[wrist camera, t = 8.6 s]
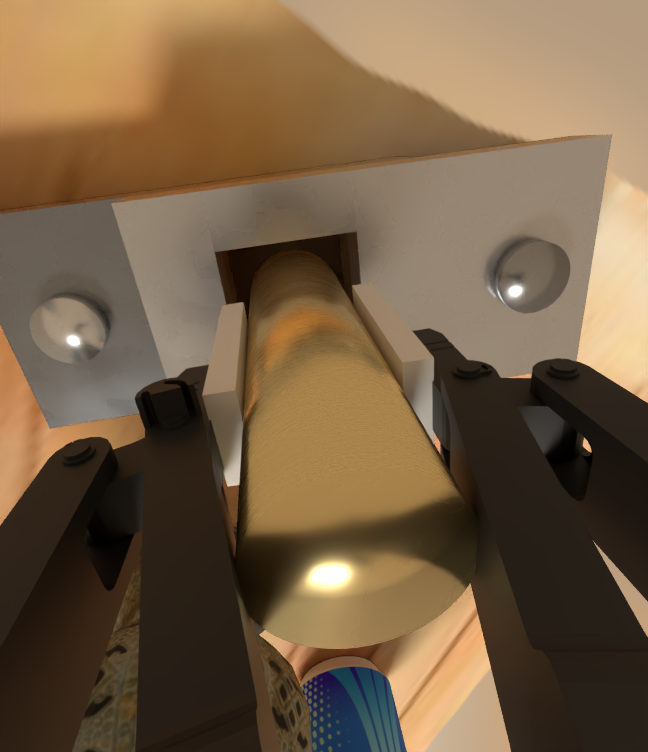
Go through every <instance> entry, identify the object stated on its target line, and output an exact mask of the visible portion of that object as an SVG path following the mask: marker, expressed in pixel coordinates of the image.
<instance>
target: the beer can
mask: <svg viewBox="0 0 648 752" xmlns="http://www.w3.org/2000/svg"><path fill="white" fill-rule="evenodd" d="M300 687H301V689H302V692H303V694H304V696H305V699H306V701H307V704H308V706H309V709H310V723H311V740H312V752H407V751H406V747H405V743H404V739H403V735H402V731H401V727H400V723H399V718H398V714H397V710H396V706H395V702H394V698H393V694H392V690H391V686H390V683H389V680H388V679H387V677H386V676H385V675H384V674H383V673H382V672H380V671H379V670H378V669H377V667H376V666H375V665H374V664H373V663H372V662H371V661H369V660H367V659H364V658H361V657H356V656H342V657H335V658H331V659H328V660H325V661H323V662H321V663H319V664H317V665H315V666H314V667H312V668H311V669H310V670H309V671H308V672H307V673H306V674H305V676H304V677H303V679H302V681H301V686H300Z"/></svg>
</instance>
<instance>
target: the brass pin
mask: <svg viewBox="0 0 648 752" xmlns="http://www.w3.org/2000/svg"><path fill="white" fill-rule="evenodd" d="M477 537H478V520H477V518H476V515H475V513H474V512H473V510H472V508H471V507H470V505H469V503H468V501H467V500H466V498H465V496H464V495H463V493H462V491H461V489H460V488H459V486H458V484H457V483H456V481H455V479H454V477H453V476H452V474H451V472H450V471H449V469H448V467H447V465H446V464H445V462H444V460H443V459H442V457H441V455H440V453H439V452H438V450H437V448H436V447H435V445H434V443H433V441H432V440H431V438H430V436H429V435H428V433H427V431H426V429H425V428H424V426H423V424H422V423H421V421H420V419H419V417H418V416H417V414H416V412H415V411H414V409H413V407H412V405H411V404H410V402H409V400H408V399H407V397H406V395H405V393H404V392H403V390H402V388H401V387H400V385H399V383H398V381H397V380H396V378H395V376H394V375H393V373H392V371H391V369H390V368H389V366H388V364H387V363H386V361H385V359H384V357H383V356H382V354H381V352H380V351H379V349H378V347H377V345H376V344H375V342H374V340H373V339H372V337H371V335H370V333H369V332H368V330H367V328H366V327H365V325H364V323H363V321H362V320H361V318H360V316H359V315H358V313H357V311H356V309H355V308H354V306H353V304H352V303H351V301H350V299H349V297H348V296H347V294H346V292H345V291H344V289H343V287H342V285H341V284H340V282H339V280H338V279H337V277H336V275H335V273H334V272H333V270H332V269H331V267H330V266H329V265H328V264H327V263H326V262H325V261H324V260H323V259H322V258H320V257H319V256H317V255H315V254H313V253H311V252H308V251H303V250H287V251H282V252H280V253H277V254H275V255H273V256H271V257H270V258H268V259H267V260H266V261H265V262H264V263H262V265H261V266H260V267H259V268H258V270H257V271H256V273H255V275H254V277H253V280H252V283H251V289H250V306H249V324H248V341H247V359H246V377H245V394H244V412H243V429H242V447H241V465H240V482H239V500H238V518H237V535H236V553H235V570H236V573H237V576H238V580H239V583H240V586H241V590H242V593H243V596H244V599H245V603H246V606H247V609H248V613H249V616H250V617H251V618H252V619H253V620H254V621H255V622H256V623H257V624H258V625H259V626H261V627H262V628H263V629H265V630H266V631H268V632H270V633H271V634H273V635H275V636H277V637H279V638H281V639H284V640H286V641H289V642H292V643H295V644H299V645H303V646H308V647H314V648H324V649H347V648H358V647H364V646H370V645H374V644H378V643H383V642H386V641H389V640H392V639H395V638H398V637H401V636H403V635H405V634H408V633H410V632H412V631H414V630H416V629H418V628H420V627H422V626H424V625H426V624H427V623H429V622H430V621H432V620H433V619H435V618H436V617H438V616H439V615H440V614H442V613H443V612H444V611H446V610H447V609H448V608H449V607H450V606H451V605H452V604H453V603H454V602H455V601H456V600H457V599H458V598H459V597H460V596H461V594H462V593H463V592H464V591H465V590H466V588H467V587H468V585H469V584H470V582H471V581H472V579H473V577H474V575H475V572H476V555H477Z"/></svg>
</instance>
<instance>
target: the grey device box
mask: <svg viewBox="0 0 648 752" xmlns="http://www.w3.org/2000/svg"><path fill="white" fill-rule="evenodd" d="M611 137H612V135H588V136H568V137H561V138H554V139H547V140H539V141H532V142H524V143H517V144H510V145H502V146H495V147H488V148H481V149H473V150H466V151H459V152H451V153H444V154H437V155H429V156H422V157H402V156H397V157H390V158H382V159H375V160H368V161H360V162H353V163H346V164H338V165H331V166H324V167H316V168H309V169H302V170H294V171H287V172H280V173H272V174H265V175H258V176H250V177H243V178H236V179H228V180H221V181H214V182H206V183H199V184H192V185H184V186H177V187H170V188H162V189H155V190H148V191H140V192H133V193H126V194H118V195H111V196H104V197H96V198H89V199H82V200H74V201H67V202H60V203H52V204H45V205H38V206H30V207H23V208H16V209H8V210H1V211H0V325H1V327H2V329H3V331H4V333H5V335H6V337H7V339H8V342H9V344H10V346H11V348H12V350H13V352H14V354H15V356H16V358H17V360H18V362H19V365H20V367H21V369H22V371H23V373H24V375H25V377H26V379H27V381H28V383H29V385H30V388H31V390H32V392H33V394H34V396H35V398H36V400H37V402H38V404H39V406H40V408H41V410H42V413H43V415H44V417H45V419H46V421H47V423H48V425H49V427H50V428H56V427H62V426H68V425H74V424H80V423H86V422H92V421H98V420H104V419H110V418H116V417H122V416H128V415H134V414H140V413H139V410H138V408H137V405H136V402H135V399H134V398H135V396H136V394H137V393H138V392H139V391H140V390H141V389H143V388H144V387H146V386H148V385H150V384H152V383H154V382H157V381H160V380H163V379H168V378H174V377H178V376H179V375H180V374H181V373H182V372H183V371H184V370H185V369H186V368H191V367H198V366H204V365H209V362H210V358H211V354H212V349H213V345H214V340H215V336H216V331H217V327H218V322H219V318H220V313H221V309H222V305H228V304H234V303H238V299H237V294H236V289H235V284H234V280H233V275H232V270H231V266H230V261H229V256H228V252H227V250H233V249H240V248H246V247H253V246H260V245H267V244H274V243H281V242H287V241H294V240H301V239H308V238H315V237H322V236H329V235H335V234H339V239H340V250H341V260H342V270H343V280H344V290H345V292H346V294H347V296H348V297H349V299H350V301H351V303H352V304H353V306H354V303H353V292H352V285H359V284H365V283H373V284H374V285H375V286H376V287H377V289H378V290H379V291H380V292H381V293H382V295H383V296H384V297H385V298H386V300H387V301H388V302H389V303H390V304H391V306H392V307H393V308H394V309H395V311H396V312H397V313H398V314H399V315H400V317H401V318H402V319H403V320H404V322H405V323H406V324H407V325H408V326H409V328H410V329H411V330H412V331H415V330H421V329H427V328H430V329H433V330H435V331H438V332H440V333H442V334H443V335H444V336H445V337H446V338H447V339H448V340H449V342H451V343H452V344H453V345H454V347H456V348H457V349H458V350H459V351H460V353H461V354H462V355H463V356H464V357H465V358H466V359H467V360H475V361H480V362H484V363H487V364H489V365H491V366H493V367H494V368H495V369H496V370H497V372H498V374H499V376H500V378H507V377H513V376H519V375H525V374H531V373H532V368H533V366H534V365H535V364H536V363H538V362H541V361H544V360H549V359H555V358H562V359H563V358H564V359H570V360H572V361H576V360H577V354H578V347H579V341H580V334H581V328H582V322H583V315H584V309H585V303H586V296H587V290H588V284H589V277H590V271H591V265H592V258H593V252H594V245H595V239H596V233H597V226H598V220H599V214H600V207H601V201H602V195H603V188H604V182H605V176H606V169H607V162H608V156H609V150H610V143H611Z"/></svg>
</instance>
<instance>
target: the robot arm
mask: <svg viewBox="0 0 648 752" xmlns="http://www.w3.org/2000/svg"><path fill="white" fill-rule="evenodd" d="M352 292H353V303H354V308H355V309H356V311H357V313H358V315H359V316H360V318H361V320H362V321H363V323H364V325H365V327H366V328H367V330H368V332H369V333H370V335H371V337H372V339H373V340H374V342H375V344H376V345H377V347H378V349H379V351H380V352H381V354H382V356H383V357H384V359H385V361H386V363H387V364H388V366H389V368H390V369H391V371H392V373H393V375H394V376H395V378H396V380H397V381H398V383H399V385H400V387H401V388H402V390H403V392H404V393H405V395H406V397H407V399H408V400H409V402H410V404H411V405H412V407H413V409H414V411H415V412H416V414H417V416H418V417H419V419H420V421H421V423H422V424H423V426H424V428H425V429H426V431H427V433H428V435H429V436H430V438H431V440H432V441H433V443H434V433H435V434H436V436H437V438H438V439H439V441H440V443H441V457H442V459H443V460H444V462H445V464H446V465H447V467H448V469H449V471H450V472H451V474H452V476H453V477H454V479H455V481H456V483H457V484H458V486H459V488H460V489H461V491H462V493H463V495H464V496H465V498H466V500H467V501H468V503H469V505H470V507H471V508H472V510H473V512H474V513H475V515H476V518H477V520H478V537H477V555H476V572H475V575H474V577H473V579H472V581H471V582H470V583H471V587H472V591H473V595H474V599H475V603H476V607H477V611H478V616H479V620H480V624H481V628H482V632H483V636H484V640H485V644H486V649H487V653H488V657H489V661H490V665H491V669H492V673H493V677H494V682H495V686H496V690H497V694H498V698H499V702H500V706H501V710H502V715H503V719H504V723H505V727H506V731H507V735H508V739H509V743H510V748H511V752H648V637H647V636H646V634H645V632H644V631H643V629H642V627H641V625H640V624H639V622H638V620H637V618H636V616H635V615H634V613H633V611H632V609H631V608H630V606H629V604H628V602H627V601H626V599H625V597H624V595H623V594H622V592H621V590H620V588H619V586H618V585H617V583H616V581H615V579H614V577H613V576H612V574H611V572H610V571H609V569H608V567H607V565H606V564H605V562H604V560H603V558H602V556H601V555H600V553H599V551H598V549H597V547H596V546H595V544H594V542H595V543H596V544H597V545H598V547H599V548H600V549H601V550H602V551H603V552H604V553H605V554H606V555H607V556H608V558H609V559H610V560H611V561H612V562H613V563H614V564H615V566H616V567H617V568H618V569H619V570H620V571H621V572H622V573H623V574H624V576H625V577H626V578H627V579H628V580H629V581H630V582H631V583H632V584H633V586H634V587H635V588H636V589H637V590H638V591H639V592H640V593H641V594H642V595H643V597H644V598H645V599H646V600H647V601H648V403H647V402H645V401H643V400H642V399H640V398H639V397H637V396H635V395H634V394H632V393H631V392H629V391H627V390H626V389H624V388H623V387H621V386H619V385H618V384H616V383H615V382H613V381H611V380H610V379H608V378H607V377H605V376H603V375H602V374H600V373H599V372H597V371H595V370H594V369H592V368H591V367H589V366H587V365H585V364H583V363H580V362H576V361H572V360H570V359H564V358H563V359H562V358H555V359H549V360H544V361H541V362H538V363H536V364H535V365H534V366H533V368H532V377H531V378H500V376H499V374H498V372H497V370H496V369H495V368H494V367H493V366H491V365H489V364H487V363H484V362H480V361H475V360H467V359H466V358H465V357H464V356H463V355H462V354H461V353H460V351H459V350H458V349H457V348H456V347H454V345H453V344H452V343H451V342H449V340H448V339H447V338H446V337H445V336H444V335H443V334H442V333H440V332H438V331H435V330H433V329H430V328H427V329H421V330H415V331H412V330H411V329H410V328H409V326H408V325H407V324H406V323H405V322H404V320H403V319H402V318H401V317H400V315H399V314H398V313H397V312H396V311H395V309H394V308H393V307H392V306H391V304H390V303H389V302H388V301H387V300H386V298H385V297H384V296H383V295H382V293H381V292H380V291H379V290H378V289H377V287H376V286H375V285H374V284H373V283H365V284H359V285H352ZM247 341H248V321H247V317H246V312H245V307H244V302H241V303H234V304H228V305H222V309H221V313H220V318H219V322H218V327H217V331H216V336H215V340H214V345H213V349H212V354H211V358H210V362H209V365H204V366H198V367H191V368H186V369H185V370H184V371H183V372H182V373H181V374H180V375H179V376H178V377H174V378H168V379H163V380H160V381H157V382H154V383H152V384H150V385H148V386H146V387H144V388H143V389H141V390H140V391H139V392H138V393H137V394H136V396H135V398H134V399H135V402H136V405H137V408H138V410H139V413H140V416H141V419H142V421H143V424H144V427H145V438H143V439H141V440H139V441H137V442H134V443H132V444H129V445H126V446H123V447H120V448H117V449H115V450H113V449H112V447H111V444H110V443H109V441H108V440H107V439H105V438H101V437H90V438H86V439H79V440H76V441H74V442H73V443H72V442H71V443H69V444H67V445H65V446H64V447H63V448H61V449H60V450H58V451H57V452H55V453H54V454H53V455H52V456H51V457H50V458H49V459H48V461H47V462H46V463H45V465H44V466H43V468H42V469H41V470H40V472H39V473H38V475H37V476H36V477H35V479H34V480H33V481H32V483H31V484H30V486H29V487H28V488H27V490H26V491H25V492H24V494H23V495H22V497H21V498H20V499H19V501H18V502H17V503H16V505H15V506H14V508H13V509H12V510H11V512H10V513H9V515H8V516H7V517H6V519H5V520H4V521H3V523H2V524H1V526H0V752H72V750H73V747H74V744H75V741H76V738H77V735H78V732H79V729H80V726H81V723H82V720H83V717H84V715H85V712H86V709H87V706H88V703H89V700H90V697H91V694H92V691H93V688H94V685H95V682H96V679H97V676H98V673H99V670H100V667H101V664H102V661H103V659H104V656H105V653H106V650H107V647H108V644H109V641H110V638H111V635H112V632H113V629H114V626H115V623H116V620H117V617H118V614H119V611H120V608H121V605H122V603H123V600H124V597H125V594H126V591H127V588H128V585H129V582H130V579H131V576H132V573H133V570H134V567H135V564H136V561H137V558H138V555H139V552H140V549H141V547H142V556H141V589H140V622H139V655H138V688H137V721H136V744H135V752H281V751H280V746H279V741H278V737H277V732H276V727H275V723H274V718H273V713H272V709H271V704H270V699H269V694H268V690H267V685H266V680H265V676H264V671H263V666H262V662H261V657H260V652H259V648H258V643H257V638H256V634H255V629H254V624H253V620H252V618H251V617H250V616H249V613H248V609H247V606H246V603H245V599H244V596H243V593H242V590H241V586H240V583H239V580H238V576H237V573H236V570H235V553H236V540H235V536H234V531H233V526H232V522H231V517H230V512H229V508H228V503H227V498H226V495H225V491H224V488H223V484H222V481H223V472H224V475H225V479H226V483H227V486H228V487H229V486H235V485H239V482H240V465H241V447H242V429H243V412H244V394H245V377H246V359H247ZM584 437H585V439H586V440H587V441H588V443H589V445H590V447H591V450H592V452H591V453H590V452H588V451H587V450H586V449H585V448H584V447H583V446H582V445H583V440H584ZM593 541H594V542H593Z"/></svg>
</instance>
